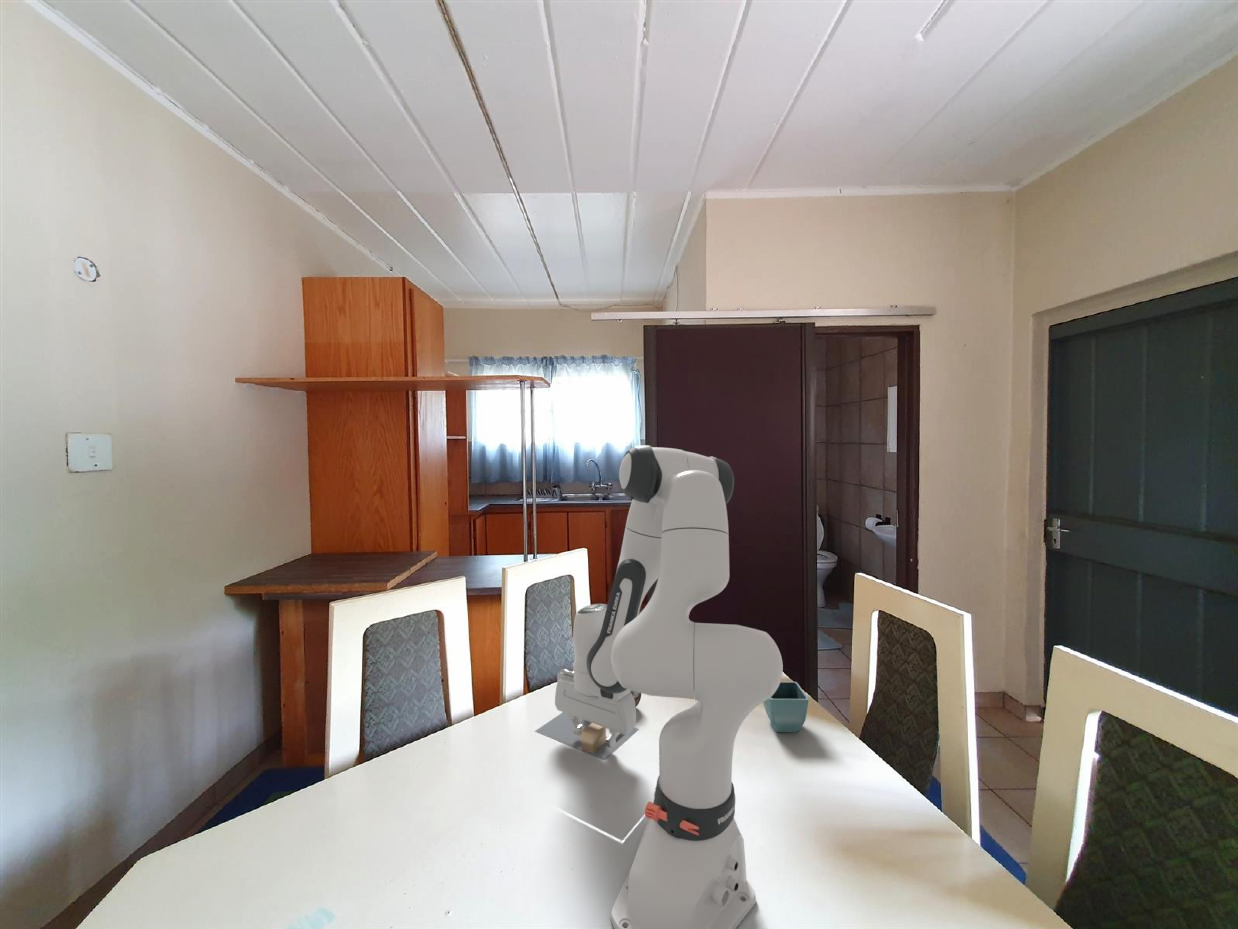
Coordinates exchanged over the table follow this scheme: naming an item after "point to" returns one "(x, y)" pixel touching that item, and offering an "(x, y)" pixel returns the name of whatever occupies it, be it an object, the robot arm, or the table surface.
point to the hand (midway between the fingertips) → (594, 739)
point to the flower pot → (787, 707)
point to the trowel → (595, 737)
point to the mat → (563, 733)
